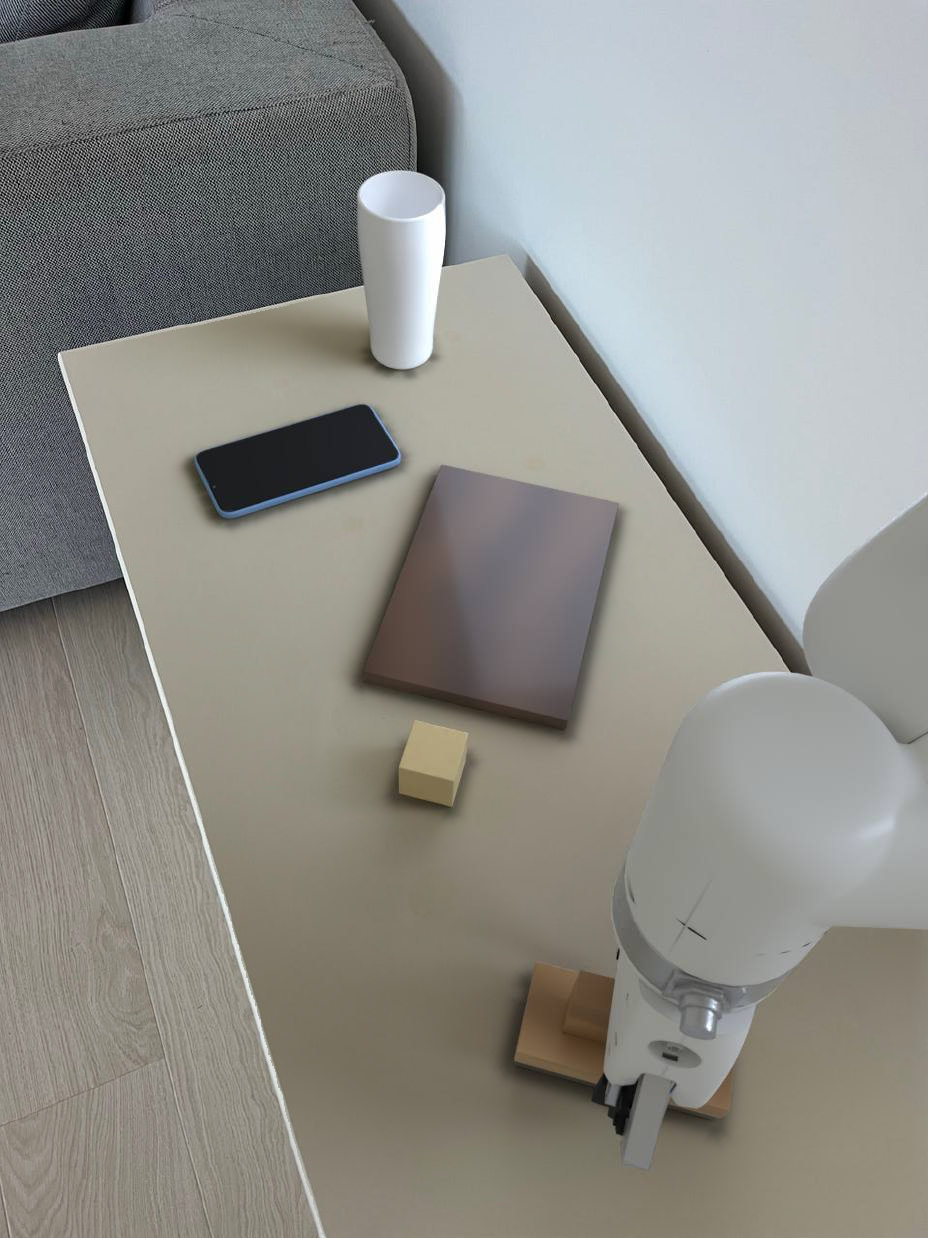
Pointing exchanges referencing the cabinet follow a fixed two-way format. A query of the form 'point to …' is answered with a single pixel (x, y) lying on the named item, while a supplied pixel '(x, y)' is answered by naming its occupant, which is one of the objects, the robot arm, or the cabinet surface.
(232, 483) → the smartphone
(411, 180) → the drinking glass
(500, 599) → the book
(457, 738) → the cream foam cube
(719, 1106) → the brown block with base
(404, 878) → the cabinet surface
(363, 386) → the cabinet surface
